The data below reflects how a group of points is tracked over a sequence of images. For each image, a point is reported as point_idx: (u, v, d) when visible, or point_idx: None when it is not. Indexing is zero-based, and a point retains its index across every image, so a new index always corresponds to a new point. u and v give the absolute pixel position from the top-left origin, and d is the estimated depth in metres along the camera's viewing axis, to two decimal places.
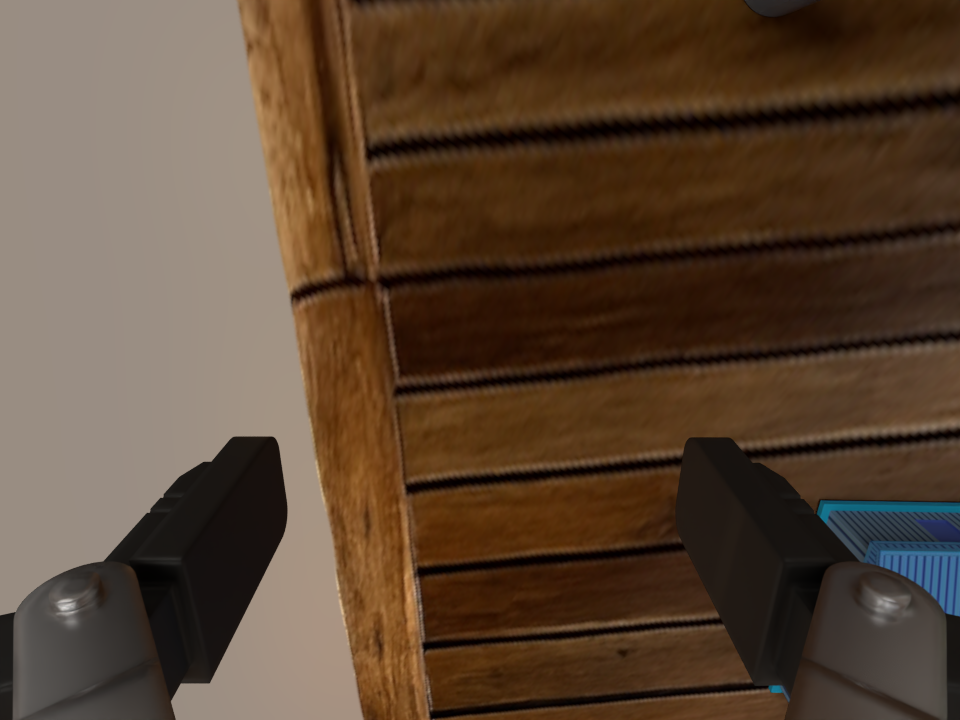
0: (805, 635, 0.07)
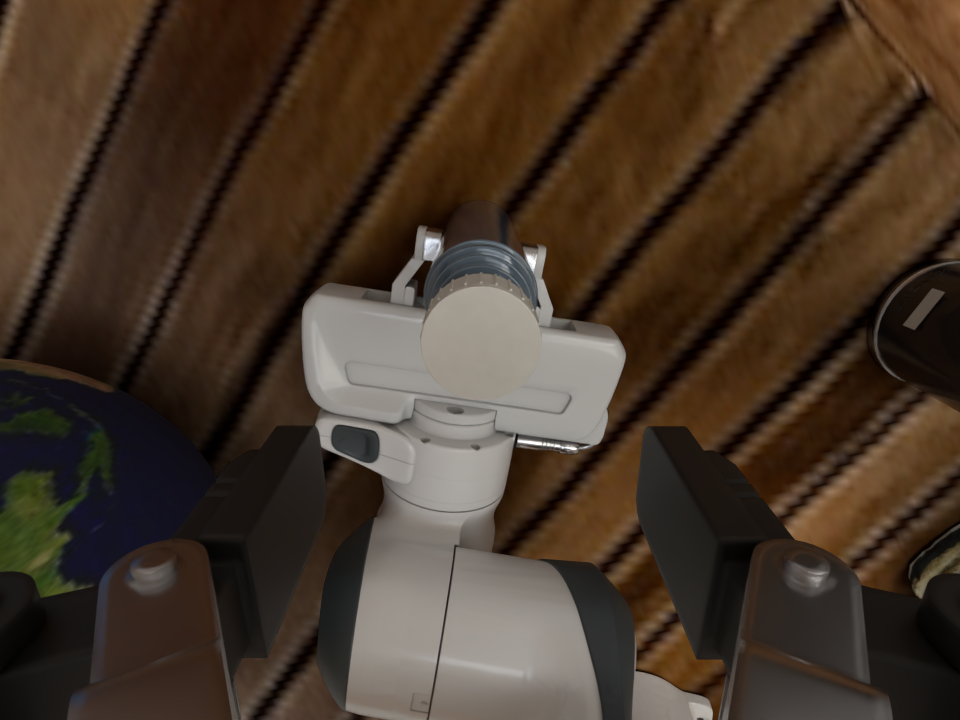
0: (737, 608, 0.08)
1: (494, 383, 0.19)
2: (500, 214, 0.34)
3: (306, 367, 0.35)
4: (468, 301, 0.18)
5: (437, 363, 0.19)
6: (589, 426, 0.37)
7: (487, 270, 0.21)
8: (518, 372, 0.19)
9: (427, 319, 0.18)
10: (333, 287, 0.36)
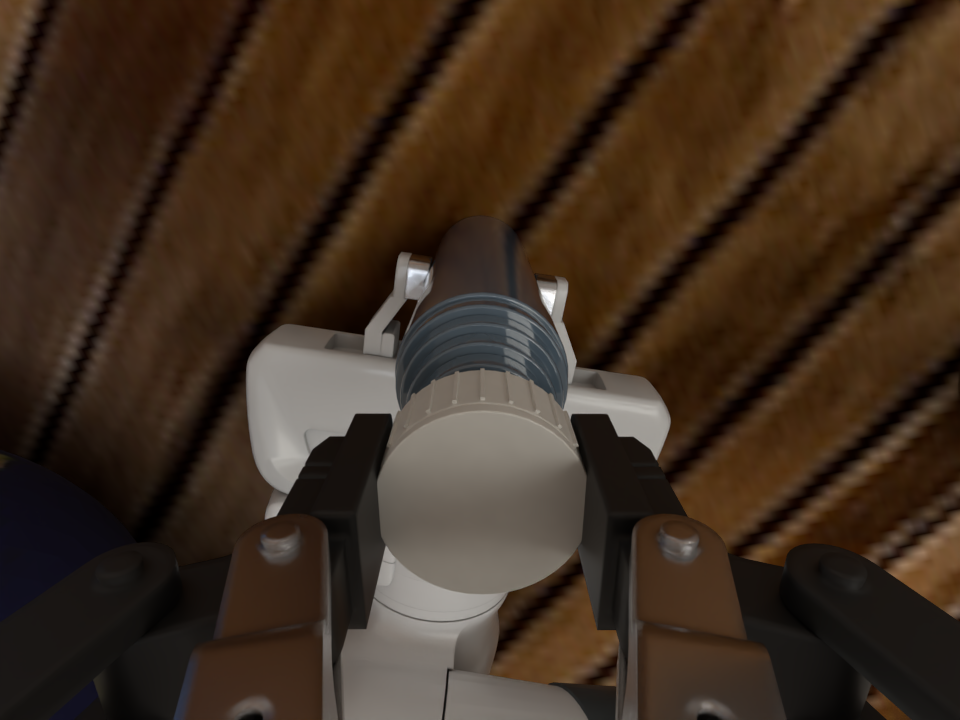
0: (623, 579, 0.08)
1: (506, 568, 0.11)
2: (507, 237, 0.26)
3: (253, 437, 0.27)
4: (459, 436, 0.10)
5: (404, 537, 0.10)
6: None
7: (492, 350, 0.13)
8: (549, 551, 0.11)
9: (384, 466, 0.10)
10: (290, 331, 0.27)
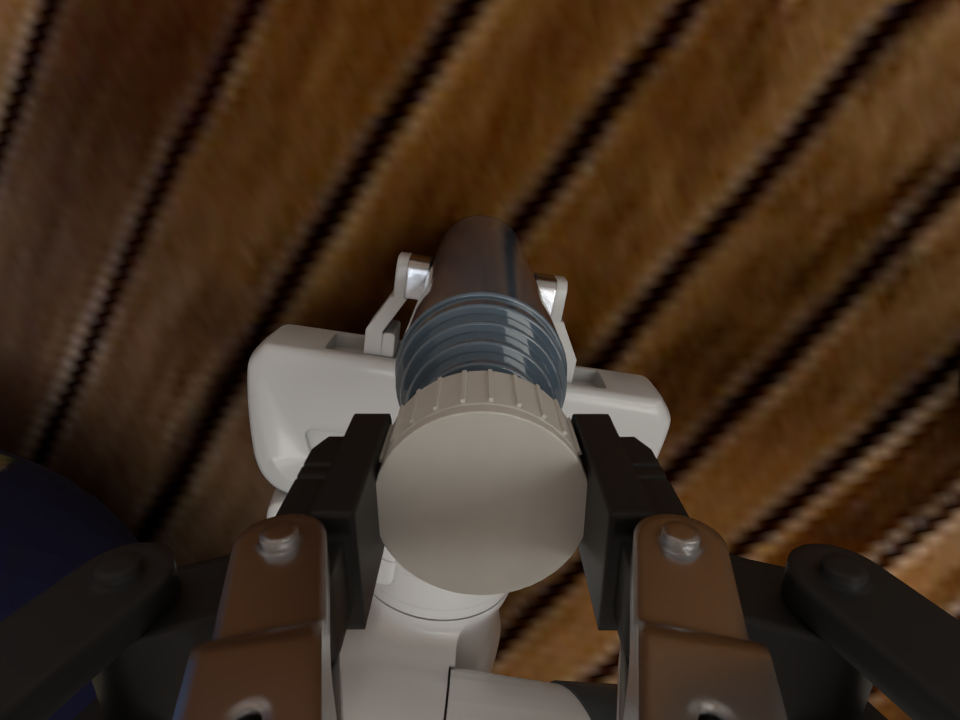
0: (625, 579, 0.08)
1: (554, 482, 0.10)
2: (507, 237, 0.26)
3: (254, 437, 0.27)
4: (403, 535, 0.10)
5: (522, 570, 0.11)
6: None
7: (491, 349, 0.13)
8: (528, 444, 0.10)
9: (445, 588, 0.11)
10: (290, 331, 0.28)
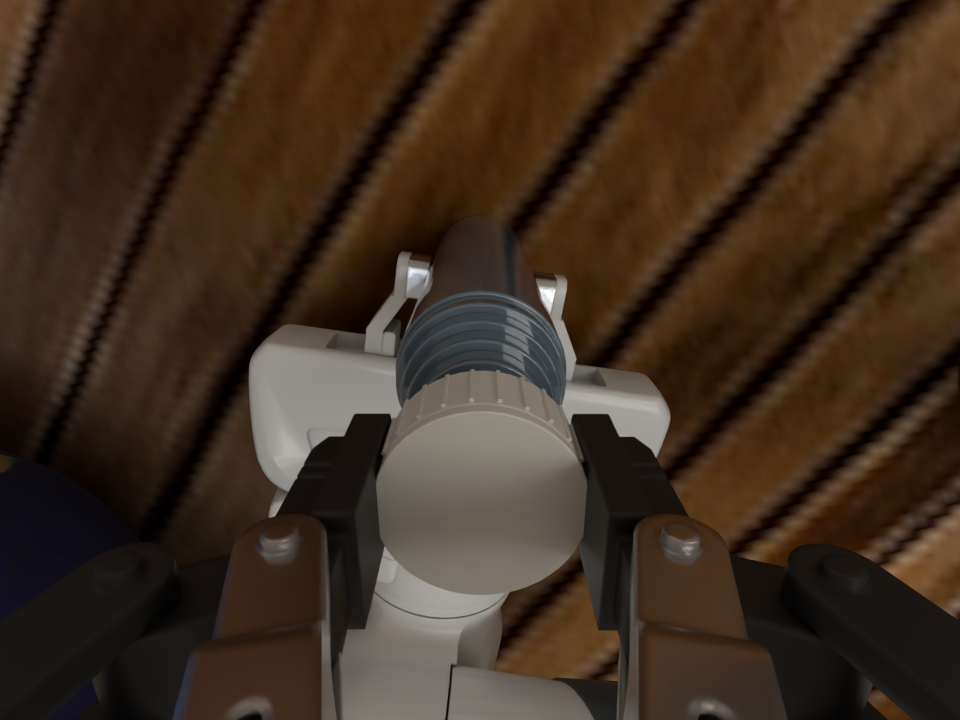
0: (625, 579, 0.08)
1: (439, 451, 0.10)
2: (506, 236, 0.26)
3: (256, 436, 0.27)
4: (518, 570, 0.11)
5: (554, 466, 0.10)
6: None
7: (490, 347, 0.13)
8: (401, 478, 0.10)
9: (582, 532, 0.10)
10: (291, 331, 0.28)
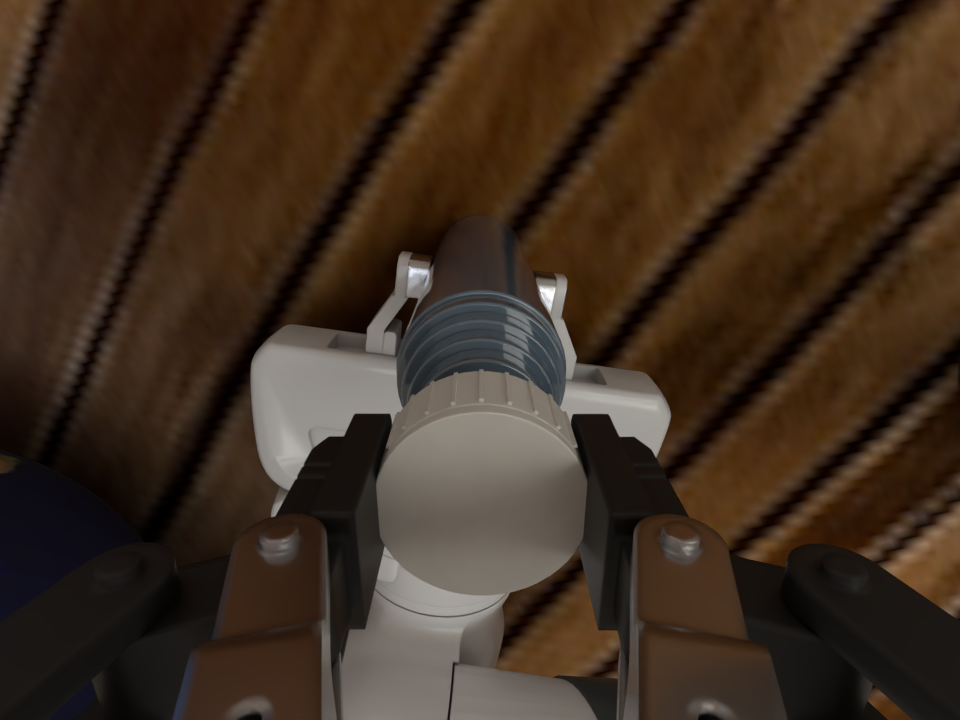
0: (625, 579, 0.08)
1: (421, 548, 0.11)
2: (506, 236, 0.26)
3: (258, 436, 0.27)
4: (555, 470, 0.10)
5: (421, 454, 0.10)
6: None
7: (490, 346, 0.14)
8: (454, 575, 0.11)
9: (499, 415, 0.10)
10: (293, 331, 0.28)
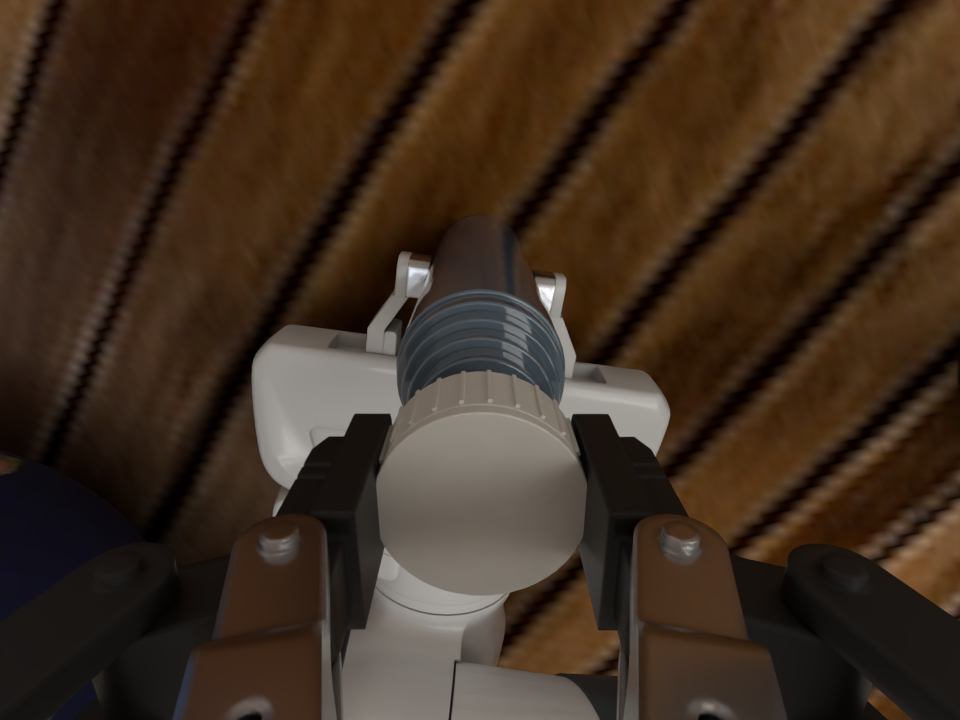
0: (625, 579, 0.08)
1: (532, 557, 0.11)
2: (505, 235, 0.26)
3: (259, 436, 0.27)
4: (424, 453, 0.10)
5: (425, 562, 0.11)
6: None
7: (489, 344, 0.14)
8: (564, 526, 0.10)
9: None
10: (293, 331, 0.28)
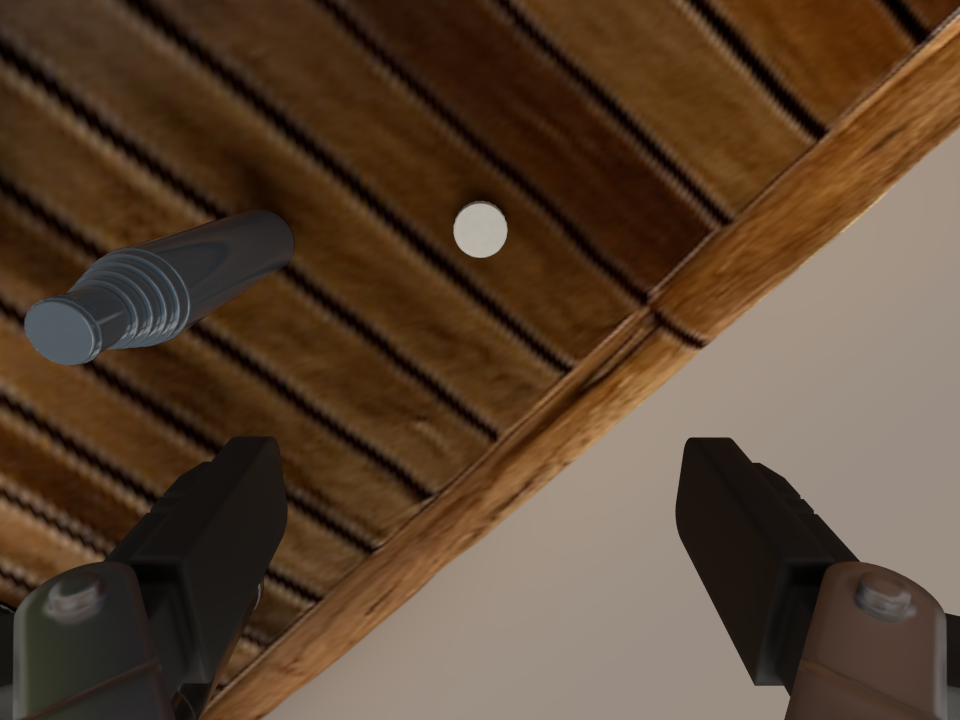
0: (805, 635, 0.07)
1: (493, 245, 0.42)
2: (265, 274, 0.39)
3: None
4: (467, 214, 0.41)
5: (466, 246, 0.42)
6: None
7: (148, 318, 0.26)
8: (500, 235, 0.42)
9: (454, 229, 0.42)
10: None
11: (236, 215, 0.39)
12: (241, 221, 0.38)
